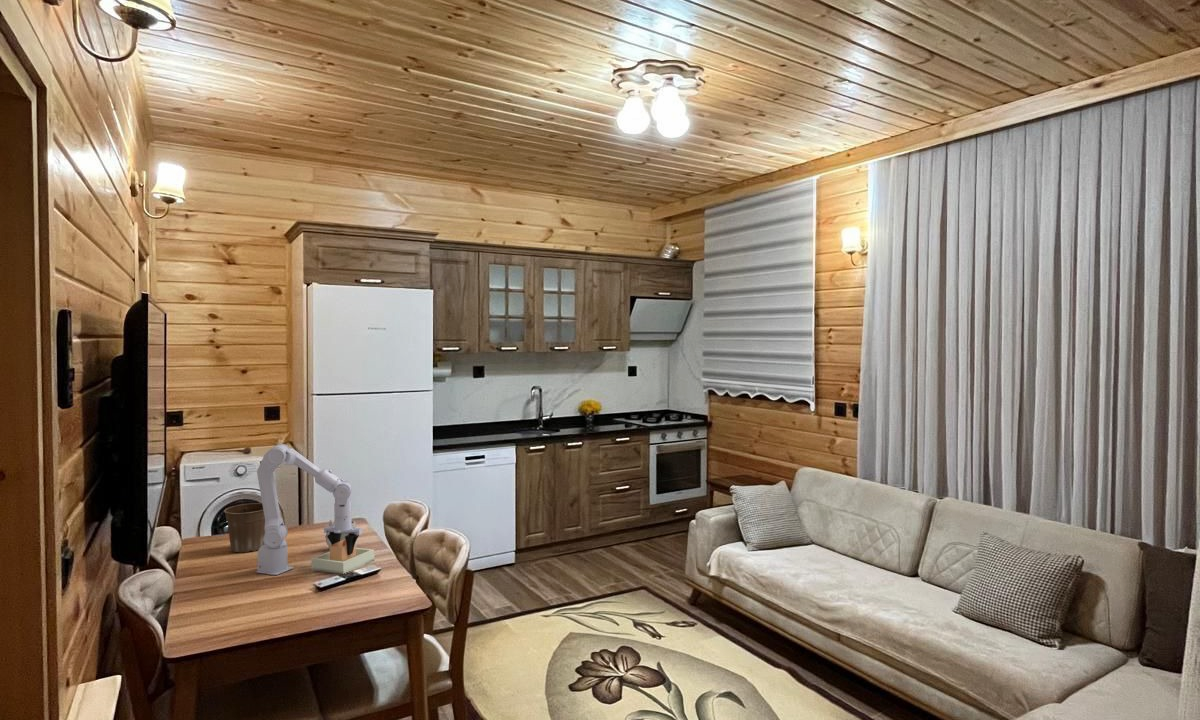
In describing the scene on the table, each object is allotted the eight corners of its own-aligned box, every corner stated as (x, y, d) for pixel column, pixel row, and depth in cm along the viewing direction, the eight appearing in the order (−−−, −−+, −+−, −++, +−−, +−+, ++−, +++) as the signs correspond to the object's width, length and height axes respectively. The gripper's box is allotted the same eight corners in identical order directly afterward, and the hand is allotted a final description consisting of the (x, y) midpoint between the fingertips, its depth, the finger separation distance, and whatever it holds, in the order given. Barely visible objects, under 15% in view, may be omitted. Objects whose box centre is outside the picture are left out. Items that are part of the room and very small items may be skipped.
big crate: (311, 570, 238) (311, 558, 238) (343, 556, 253) (343, 546, 253) (343, 574, 233) (343, 562, 233) (374, 560, 248) (374, 549, 248)
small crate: (329, 561, 240) (329, 545, 239) (343, 554, 247) (343, 539, 247) (342, 562, 238) (341, 546, 238) (355, 555, 246) (355, 540, 246)
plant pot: (258, 555, 256) (257, 512, 256) (215, 555, 257) (215, 512, 256) (278, 542, 273) (278, 502, 272) (239, 542, 273) (238, 503, 273)
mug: (360, 548, 264) (359, 517, 264) (328, 554, 257) (327, 522, 257) (354, 544, 270) (354, 514, 270) (323, 549, 263) (323, 518, 263)
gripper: (318, 517, 241) (318, 555, 241) (353, 519, 237) (354, 558, 237) (330, 512, 248) (331, 549, 248) (365, 515, 244) (366, 552, 244)
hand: (343, 553), depth 243 cm, fingers closed on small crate, 5 cm apart
